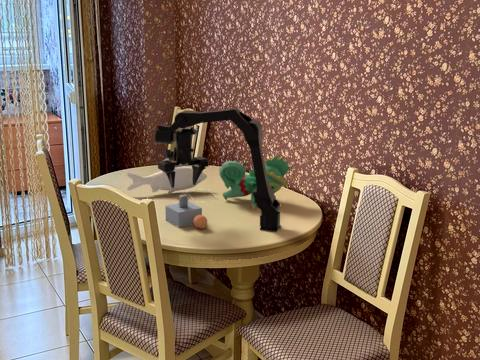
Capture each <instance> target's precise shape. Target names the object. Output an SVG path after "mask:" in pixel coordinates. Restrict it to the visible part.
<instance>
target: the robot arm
mask: <svg viewBox="0 0 480 360" xmlns="http://www.w3.org/2000/svg"><path fill="white" fill-rule="evenodd" d="M224 121H230V122H232V123H233V124H234V125H235V126H236V127H237V128H238V129H239V130H240V131H241V132H242V133H243V134H242V135H243V136H244V140H245V142H246V144H247V145H248V147H249V149H250V150H249V151H250V156H251V160H252V166H253V168H254V173H255V178H256V183H257V188H256V189H255V190H254V192H253V196H254V199H255V202H254V203H256V207H257V208H258V209H260V212H261V214H260V216H259V230H262V231H267V232H268V231H270V232H275V233H276V232H278V231H279V229H281V227H282V225H281V211H279V210H280V207H281V203H280V202H279V201H278V200H277V199H275V196H276V195H275V194H274V193H273V190H272V188H271V186H270V185H269V183H268V179H267V173H266V168H265V164H266V162H265V159H264V152H263V147H262V142H263V141H262V140H263V125H262V123H261V122H260V121H259V120H256V119H253V118H252V117H250V116H249V115H248V114H246V113H243V112H242V111H241V110H240V109H239V108H238V107H233V108H225V109H217V110H207V111H198V110H188V109H185V110H183V111H179V112H178V113H176V114H175V116H174V121H173V123H172V124H171V125H165V124H158V125H156V126H157V128H156V131H155V134H154V140H155V143H156V144H162V145H163V144H164V145H173V143H175V142H176V143H175V146H174V148H173V150H172V151H171V149H165V150H164V151H163V156H164V157H163V158H164V160H165V159H167V158H168V159H169V161H168V160H166V161H164V160H160V161H159V162H158V163H157V169H158V170H160V171H163V172H165V173H166V175H167V177H168V179H169V182H170V185H171V188H174V184H175V171H174V169H175V167H183V166H185V167H191V168H192V169H193V185H195V184H196V182H197V180H198V178H199V176H200V175H201V173H203V172H204V170H206V168H207V167H209V165H210V164H209V163H210V162H209V159H208V158H206V157H204V156H201V155H200V156H195V157H194V156H193V155H192V153H193V152H194V149H195V148H193V136H195V135H197V134H198V132H199V131H198V130H196V128H195V127H194V126H195V125H199V124H203V123H204V124H205V123H214V122H224ZM178 129H179V130H178ZM180 129H181V130H180ZM192 156H193V157H192ZM172 161H173V162H172ZM274 195H275V196H274Z"/></svg>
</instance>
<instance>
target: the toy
mask: <svg viewBox="0 0 480 360" xmlns="http://www.w3.org/2000/svg"><path fill="white" fill-rule="evenodd" d="M289 163H290V161H289V160H285V159H284V156H281V157H279V158H278V156H277V155H274V156H273V157H272V158H271V159H270V158H267V159H266V162H265V168H266V173H267V179H268V183H269V185H270V186H271V188H272V190H273V193H274V196H275V199H276V198H277V197H276V195H275V194H276V193H277V192H279V191H280V190H281V189H282V187H286V186H287V187H288V186H290V184H289V183H288V181H287V180H285V179H283V177H285V175H287V173H288V172H289V171H290V170H291V169H292V168H293V167H292V166H291V165H289ZM218 171H219V173H218V174H219V176H220V179H221V180H222V182H223V184H224V186H225V188H226V189H227V191H224V192H222V197H223V198H224V200H225V201H227V200H228V199H232V198H234V199H235V198H241V197H242V198H243V197H247V196H249V195H250V200H251V201H250V202H251V204H250V205H251V208H252V210H253V211H255V210H256V207H257V205H256V203H254V202H255V199H254V196H253V192H254V190H255V189H256V188H257V183H256V178H255V173H254V167H253V168H252V169H250V168H249V171H248V173H249V174H246V173H247V170H246V168H245V166H244V165H243V164H242V163H240V162H238V161H236V160H235V161H233V160H228V161H226V162H224V163H223V164H221V166H220V167H219V169H218ZM276 200H277V199H276Z"/></svg>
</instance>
